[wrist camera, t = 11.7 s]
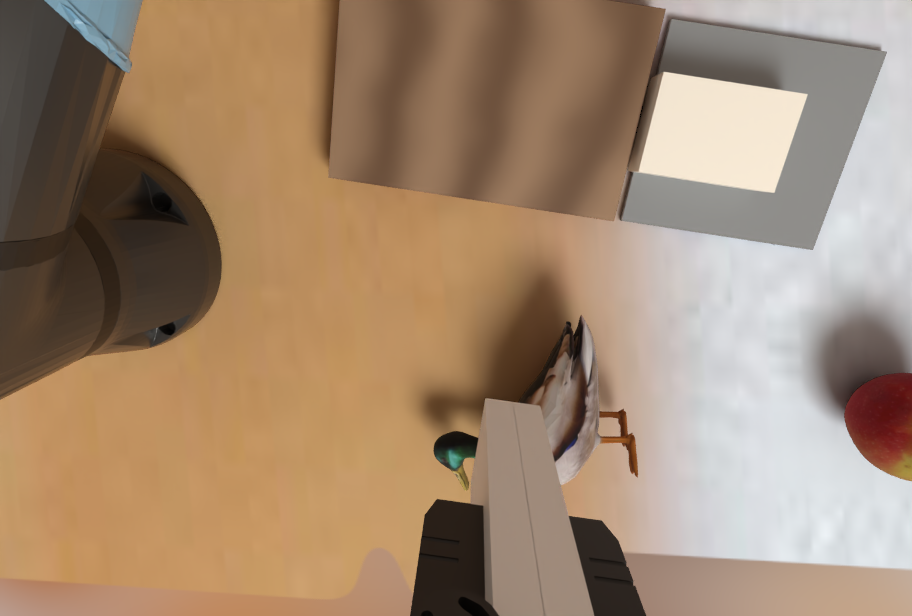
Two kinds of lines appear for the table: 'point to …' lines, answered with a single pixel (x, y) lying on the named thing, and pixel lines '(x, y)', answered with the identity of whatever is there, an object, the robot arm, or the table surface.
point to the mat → (812, 148)
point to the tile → (715, 131)
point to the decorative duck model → (557, 411)
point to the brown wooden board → (493, 98)
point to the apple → (883, 423)
